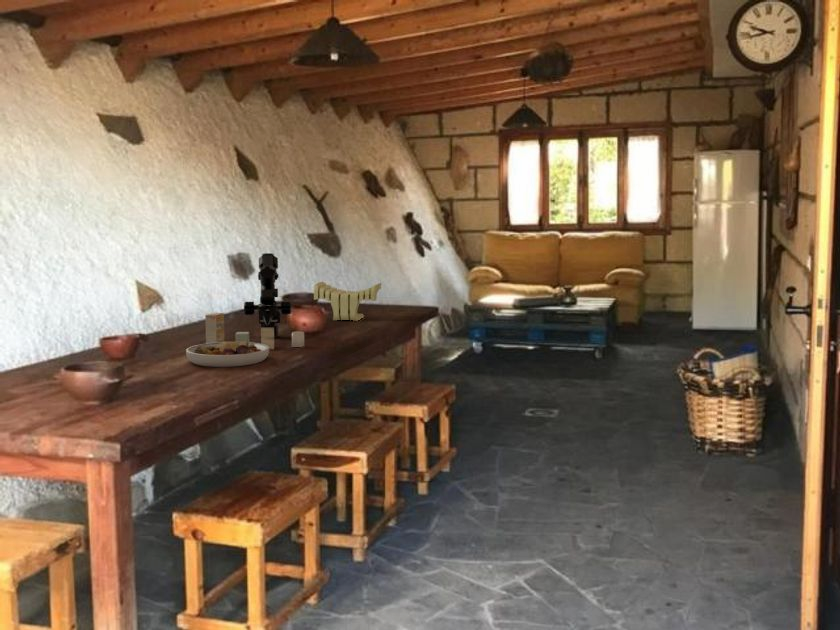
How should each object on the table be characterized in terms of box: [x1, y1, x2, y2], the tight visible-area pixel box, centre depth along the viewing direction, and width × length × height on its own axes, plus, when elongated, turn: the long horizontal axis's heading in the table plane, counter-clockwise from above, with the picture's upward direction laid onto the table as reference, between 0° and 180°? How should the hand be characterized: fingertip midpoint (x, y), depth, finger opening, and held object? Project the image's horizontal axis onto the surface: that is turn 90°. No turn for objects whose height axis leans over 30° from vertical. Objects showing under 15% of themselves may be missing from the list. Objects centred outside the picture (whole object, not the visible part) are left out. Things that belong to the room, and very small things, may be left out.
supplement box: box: [204, 312, 225, 344], centre depth 369 cm, size 8×5×13 cm, turn 168°
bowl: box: [185, 340, 270, 368], centre depth 336 cm, size 30×30×8 cm
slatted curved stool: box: [313, 281, 382, 322], centre depth 447 cm, size 30×16×18 cm, turn 81°
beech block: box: [260, 327, 275, 350], centre depth 363 cm, size 5×5×8 cm
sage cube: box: [234, 331, 250, 342], centre depth 372 cm, size 5×5×5 cm
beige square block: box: [291, 330, 305, 348], centre depth 366 cm, size 5×5×6 cm
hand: (267, 324), depth 364 cm, fingers closed
